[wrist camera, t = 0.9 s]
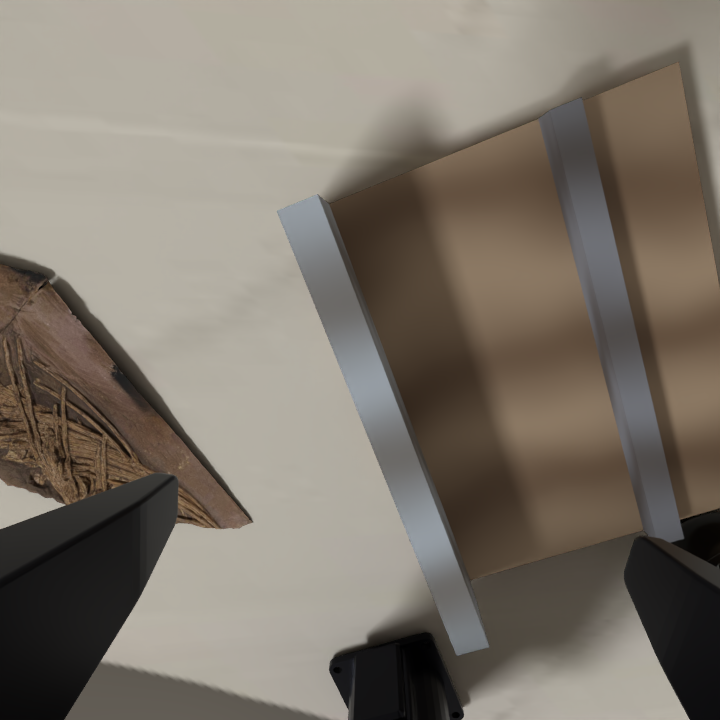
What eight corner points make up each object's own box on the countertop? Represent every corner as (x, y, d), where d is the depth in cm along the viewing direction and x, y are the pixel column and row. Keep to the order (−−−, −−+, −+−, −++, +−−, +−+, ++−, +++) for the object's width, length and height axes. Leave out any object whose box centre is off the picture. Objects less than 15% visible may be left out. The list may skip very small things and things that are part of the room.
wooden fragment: (-234, 301, 23) (-263, 303, 22) (-138, 121, 20) (-165, 114, 19) (178, 593, 26) (170, 607, 25) (297, 469, 24) (293, 479, 23)
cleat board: (733, 481, 23) (840, 552, 18) (439, 568, 25) (456, 655, 20) (655, 75, 19) (767, 9, 13) (301, 219, 21) (276, 210, 15)
